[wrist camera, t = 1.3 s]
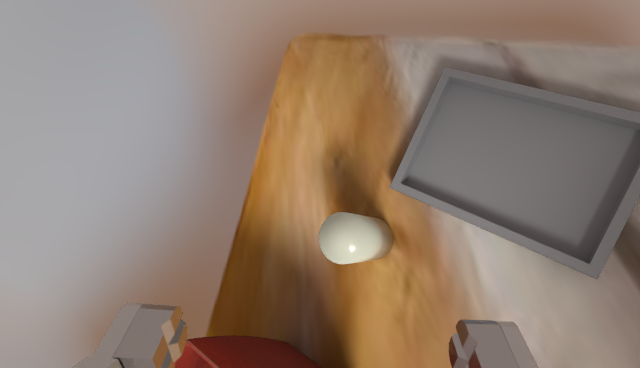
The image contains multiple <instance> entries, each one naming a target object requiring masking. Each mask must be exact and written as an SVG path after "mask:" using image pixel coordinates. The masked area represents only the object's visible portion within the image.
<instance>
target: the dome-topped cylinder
mask: <svg viewBox="0 0 640 368" xmlns="http://www.w3.org/2000/svg"><path fill="white" fill-rule="evenodd" d="M319 244H320V247H321V250H322V252H323V253H324V255H325V256H326V257H327V258H328V259H329V260H330V261H332V262H334V263H337V264H350V263H357V262H364V261H371V260H377V259H381V258H383V257H385V256H386V255H387V254H388V253H389V252H390V250H391V248H392V245H393V233H392V230H391V228H390V226H389V225H388V224H387V223H386V222H385V221H383V220H382V219H379V218H375V217H369V216H364V215H358V214H352V213H347V212H338V213H335V214H332V215H331V216H329V217H328V218H327V219H326V220H325V221H324V223H323V224H322V226H321V229H320V232H319Z"/></svg>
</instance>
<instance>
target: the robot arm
mask: <svg viewBox="0 0 640 368" xmlns="http://www.w3.org/2000/svg"><path fill="white" fill-rule="evenodd" d="M182 314H183V312H182V309H181V307H180V306H169V305H154V304H141V303H126V304H125V305H124V306H123V307H122V308H121V309H120V311H119V312H118V314H117V316H116V317H115V319H114V321H113V323H112V324H111V326H110V328H109V329H108V331H107V333H106V334H105V336H104V338H103V339H102V341H101V343H100V344H99V346H98V348H97V350H96V351H95V353H94V355H93V356H92V357H86V358H85V359H83V360H82V361H81V362H79V363H78V364H77V365H75V366H74V367H73V368H175V366H174V362H175V361H176V360H177V359H178V358H180V357H181V356H182V353H183V351H184V348H185V344H186V338H187V326H186V323H185V322H184V321H183V320H181V317H182ZM456 330H457V333H456V334H454V335H452V337H451V339H450V342H449V357H450V362H451V365H452V368H538V366H537V364H536V362H535V360H534V358H533V356H532V354H531V352H530V350H529V348H528V346H527V344H526V342H525V340H524V338H523V336H522V334H521V332H520V330H519V328H518V327H517V325H516V324H515V323H513V322H498V321H487V320H460V321H458V323H457V325H456Z"/></svg>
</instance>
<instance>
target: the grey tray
mask: <svg viewBox="0 0 640 368" xmlns="http://www.w3.org/2000/svg"><path fill="white" fill-rule="evenodd" d="M390 188H392V189H394V190H396V191H399V192H401V193H403V194H405V195H408V196H410V197H412V198H414V199H417V200H419V201H421V202H424V203H426V204H428V205H430V206H433V207H435V208H437V209H439V210H442V211H444V212H446V213H448V214H451V215H453V216H455V217H457V218H460V219H462V220H464V221H467V222H469V223H471V224H473V225H476V226H478V227H480V228H482V229H485V230H487V231H489V232H491V233H494V234H496V235H498V236H500V237H503V238H505V239H507V240H509V241H512V242H514V243H516V244H519V245H521V246H523V247H525V248H528V249H530V250H532V251H534V252H537V253H539V254H541V255H543V256H546V257H548V258H550V259H552V260H555V261H557V262H559V263H562V264H564V265H566V266H568V267H571V268H573V269H575V270H577V271H580V272H582V273H584V274H586V275H589V276H591V277H593V278H596V279H598V277H599V275H600V273H601V271H602V269H603V267H604V265H605V263H606V261H607V259H608V257H609V255H610V253H611V251H612V249H613V247H614V245H615V244H616V242H617V240H618V238H619V236H620V234H621V232H622V230H623V228H624V226H625V224H626V222H627V220H628V218H629V216H630V214H631V212H632V210H633V208H634V207H635V205H636V203H637V201H638V199H639V197H640V112H637V111H632V110H628V109H624V108H619V107H615V106H611V105H607V104H602V103H598V102H594V101H589V100H585V99H581V98H577V97H572V96H568V95H564V94H560V93H555V92H551V91H547V90H542V89H538V88H534V87H530V86H525V85H521V84H517V83H512V82H508V81H504V80H500V79H495V78H491V77H487V76H482V75H478V74H474V73H470V72H465V71H461V70H457V69H452V68H448V67H445V68H444V70H443V72H442V75H441V77H440V79H439V81H438V83H437V85H436V88H435V90H434V92H433V94H432V96H431V98H430V101H429V103H428V105H427V107H426V109H425V112H424V114H423V116H422V118H421V120H420V122H419V125H418V127H417V129H416V131H415V133H414V135H413V138H412V140H411V142H410V144H409V146H408V149H407V151H406V153H405V155H404V157H403V159H402V162H401V164H400V166H399V168H398V170H397V172H396V175H395V177H394V179H393V181H392V183H391V185H390Z"/></svg>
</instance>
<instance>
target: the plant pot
mask: <svg viewBox="0 0 640 368" xmlns="http://www.w3.org/2000/svg"><path fill="white" fill-rule="evenodd" d="M174 366H175V368H321V367H320V366H319V365H317V364H316V363H314V362H313V361H312V360H310V359H309V358H308V357H306V356H305V355H303V354H302V353H301V352H299V351H298V350H296V349H295V348H294V347H292V346H291V345H289V344H288V343H286V342H283V341H279V340H274V339H268V338H261V337H251V336H216V337H203V338H194V339H188V340H186V344H185V348H184V351H183V353H182V356H181V357H180V358H178V359H177V360H176V361H175V362H174Z"/></svg>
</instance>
